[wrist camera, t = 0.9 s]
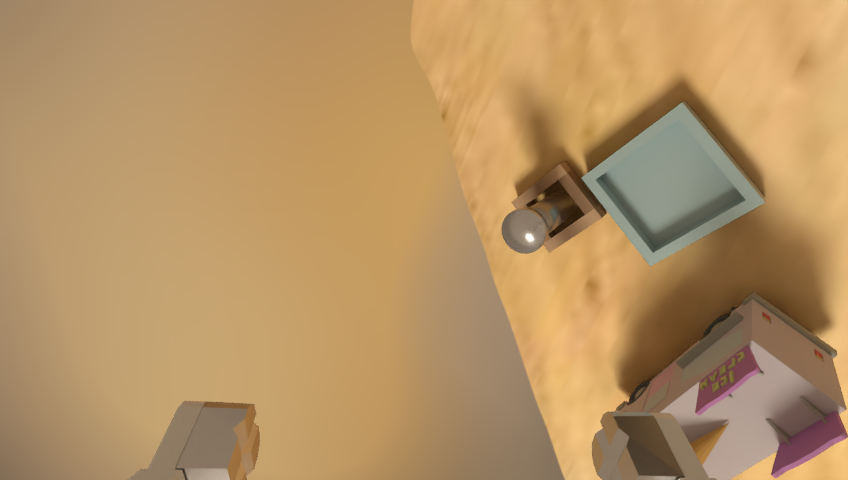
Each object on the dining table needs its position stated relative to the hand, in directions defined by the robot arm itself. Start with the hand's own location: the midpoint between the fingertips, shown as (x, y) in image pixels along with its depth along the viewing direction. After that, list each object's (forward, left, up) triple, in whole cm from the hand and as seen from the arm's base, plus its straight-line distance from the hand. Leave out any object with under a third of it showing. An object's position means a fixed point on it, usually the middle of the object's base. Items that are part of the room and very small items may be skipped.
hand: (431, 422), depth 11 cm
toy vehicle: (+10, +20, -44) cm, 49 cm away
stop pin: (+12, -3, -44) cm, 45 cm away
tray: (+2, +2, -44) cm, 44 cm away
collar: (+12, -3, -44) cm, 45 cm away
